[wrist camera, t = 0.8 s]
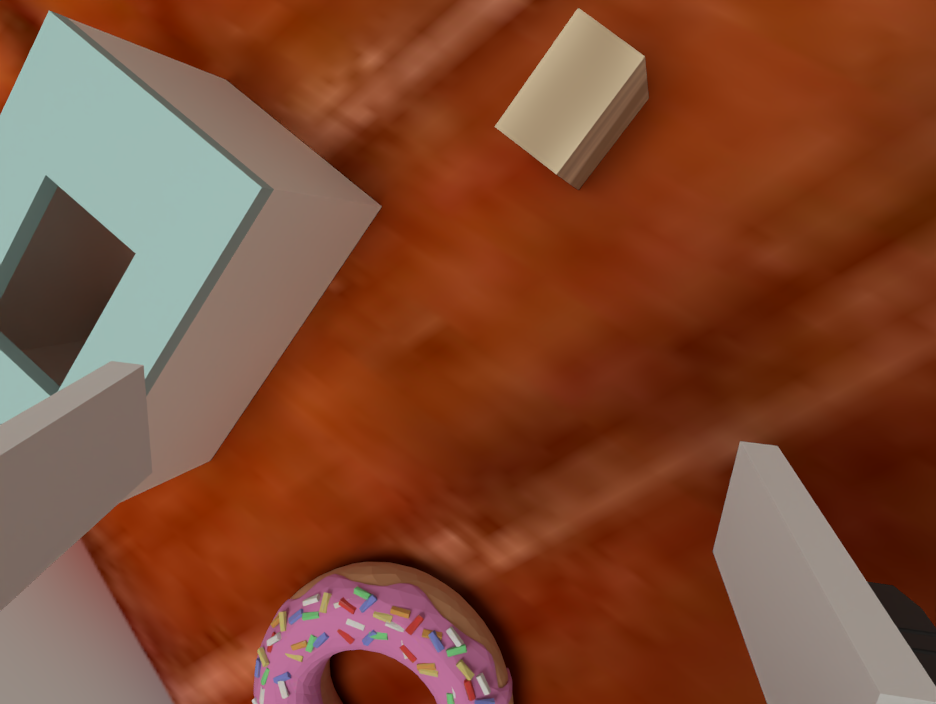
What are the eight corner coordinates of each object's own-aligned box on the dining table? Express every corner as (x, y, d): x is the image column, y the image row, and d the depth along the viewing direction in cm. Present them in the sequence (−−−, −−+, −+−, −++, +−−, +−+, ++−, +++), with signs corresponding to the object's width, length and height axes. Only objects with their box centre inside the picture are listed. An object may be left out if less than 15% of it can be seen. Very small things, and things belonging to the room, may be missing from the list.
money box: (381, 206, 35) (261, 187, 25) (210, 460, 40) (50, 535, 30) (225, 79, 36) (49, 10, 26) (78, 340, 41) (-119, 371, 31)
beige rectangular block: (648, 98, 31) (644, 56, 24) (578, 190, 32) (556, 174, 26) (596, 59, 31) (578, 7, 25) (529, 151, 33) (494, 126, 26)
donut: (307, 778, 42) (261, 846, 37) (267, 552, 40) (214, 593, 35) (541, 796, 38) (523, 876, 33) (506, 546, 36) (482, 591, 31)
